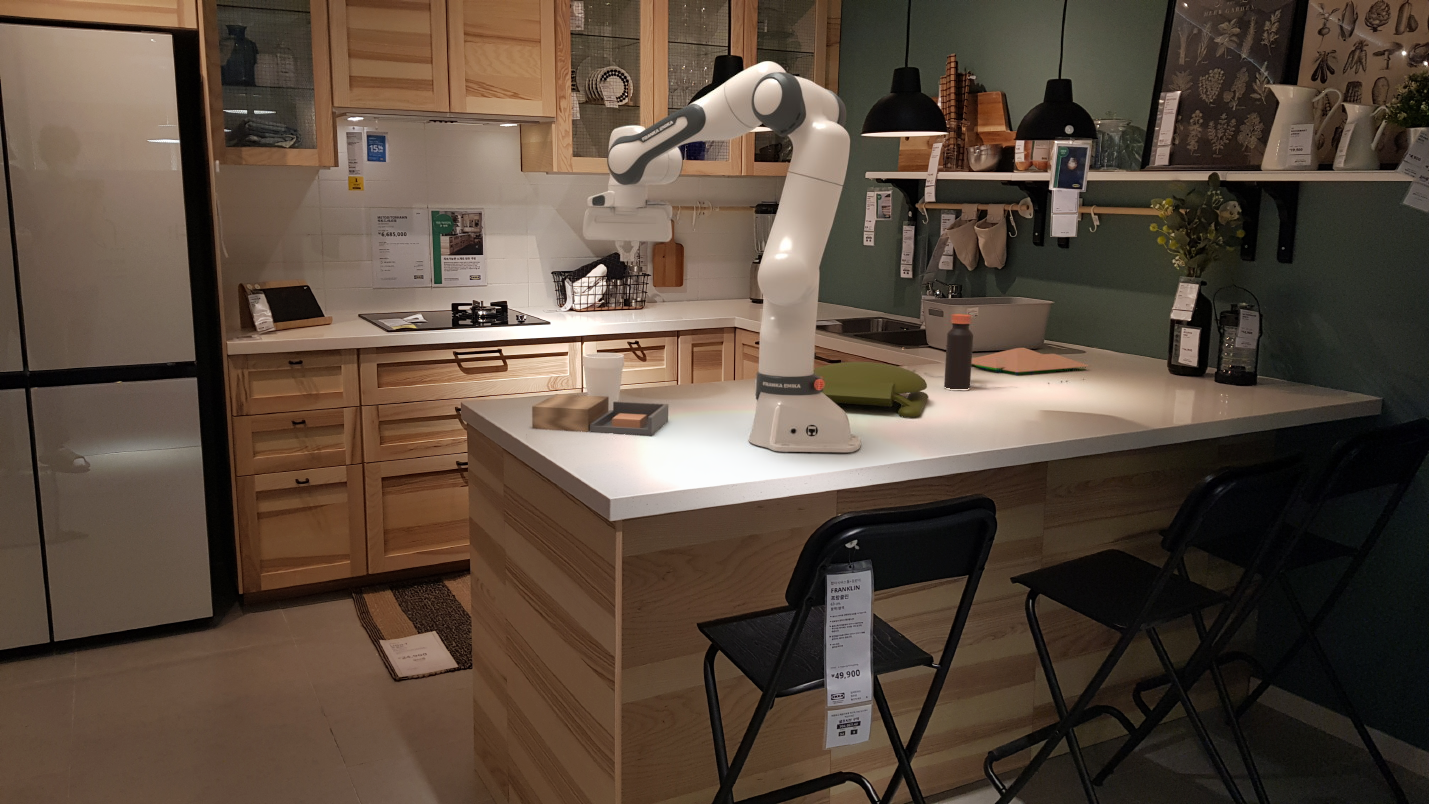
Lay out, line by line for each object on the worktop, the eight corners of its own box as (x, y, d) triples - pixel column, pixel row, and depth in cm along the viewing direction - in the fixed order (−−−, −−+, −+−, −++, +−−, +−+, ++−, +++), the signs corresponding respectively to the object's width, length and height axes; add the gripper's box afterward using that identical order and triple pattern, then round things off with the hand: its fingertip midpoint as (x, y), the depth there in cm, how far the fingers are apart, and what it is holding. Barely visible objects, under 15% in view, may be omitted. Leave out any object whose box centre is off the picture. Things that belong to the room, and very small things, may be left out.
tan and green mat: (952, 372, 323) (954, 345, 321) (1030, 366, 339) (1032, 341, 338) (1009, 383, 303) (1011, 355, 302) (1089, 377, 320) (1091, 349, 319)
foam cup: (586, 415, 241) (586, 358, 239) (579, 408, 250) (579, 353, 248) (627, 414, 244) (628, 357, 242) (619, 407, 253) (620, 352, 251)
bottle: (972, 391, 285) (977, 316, 282) (946, 391, 285) (951, 315, 282) (966, 387, 292) (971, 314, 289) (941, 387, 292) (946, 313, 289)
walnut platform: (608, 418, 238) (608, 396, 238) (587, 433, 223) (587, 409, 222) (556, 416, 240) (556, 394, 240) (532, 430, 225) (532, 406, 224)
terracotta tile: (619, 413, 233) (619, 422, 233) (612, 418, 227) (612, 427, 227) (646, 414, 232) (646, 423, 232) (640, 419, 226) (640, 429, 226)
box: (668, 422, 236) (668, 404, 236) (651, 436, 221) (651, 417, 220) (610, 419, 238) (610, 401, 238) (590, 433, 223) (590, 414, 222)
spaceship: (919, 420, 246) (921, 378, 244) (786, 411, 254) (788, 370, 252) (930, 396, 279) (932, 359, 278) (813, 389, 287) (814, 352, 286)
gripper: (675, 200, 245) (674, 261, 247) (588, 198, 248) (588, 259, 251) (669, 200, 239) (668, 263, 241) (580, 198, 242) (580, 260, 245)
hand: (627, 261), depth 246 cm, fingers closed
